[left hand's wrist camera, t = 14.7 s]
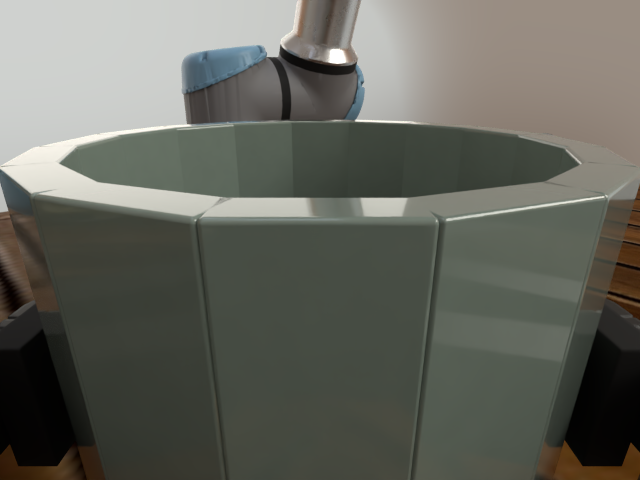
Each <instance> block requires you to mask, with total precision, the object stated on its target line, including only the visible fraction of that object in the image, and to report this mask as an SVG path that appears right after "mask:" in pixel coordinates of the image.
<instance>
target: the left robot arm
mask: <svg viewBox="0 0 640 480" xmlns="http://www.w3.org/2000/svg"><path fill="white" fill-rule="evenodd" d="M75 440H76V439H75V435H74V432H73V428H72V425H71V422H70V418H69V415H68V411H67V408H66V405H65V401H64V398H63V394H62V391H61V388H60V384H59V381H58V377H57V374H56V371H55V367H54V364H53V360H52V357H51V354H50V350H49V347H48V343H47V340H46V337H45V333H44V330H43V326H42V323H41V320H40V316H39V313H38V309H37V306H36V303H35V300H34V301H31V302H29V303H27V304H25V305H23V306H22V307H21V308H19V309H18V310H17V311H15V312H14V313H13V314H11V315H10V316H9V317H8V319H5V320H3V321H2V322H1V323H0V454H1V453H2V452H3V451H4V450H5V449H6V448H7V446H8V445H9V444H10V445H11V448H12V450H13V453H14V456H15V458H16V461H17V464H18V466H58V464H59V463H60V461H61V460H62V459H63V457H64V456H65V454H66V453H67V451H68V450H69V448H70V447H71V446H72V444H73V443H74V441H75ZM564 440H565V441H566V442H567V444H568V445H569V447H570V448H571V450H572V451H573V453H574V454H575V455H576V457H577V458H578V460H579V461H580V463H581V464H582V466H622V464H623V461H624V459H625V456H626V453H627V451H628V448H629V445H630V443H632V444H633V445H634V446H635V447H636V449H637V450H638V451H639V452H640V320H638V319H637V318H633V315H631V314H630V313H629V312H627V311H626V310H625V309H623V308H622V307H620V306H619V305H618V304H616V303H614V302H612V301H610V300H608V299H605V303H604V306H603V310H602V313H601V317H600V320H599V323H598V327H597V330H596V334H595V337H594V340H593V344H592V347H591V351H590V354H589V357H588V361H587V364H586V368H585V371H584V375H583V378H582V381H581V385H580V388H579V392H578V395H577V398H576V402H575V405H574V409H573V412H572V415H571V419H570V422H569V426H568V429H567V433H566V436H565V439H564ZM638 480H640V475H639V477H638Z"/></svg>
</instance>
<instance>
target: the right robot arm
mask: <svg viewBox="0 0 640 480" xmlns="http://www.w3.org/2000/svg"><path fill="white" fill-rule="evenodd" d="M360 3H361V0H297V6H296V13H295V20H294V27H293V30H292V31H291V32H290V33H288V34H287V35H286V36H284V37H283V38H282V39H281V45H280V52H279V57H266V56H267V52H266V51H265V48H264V47H263V46H262V45H256V46H242V47H233V48H224V49H216V50H209V51H202V52H196V53H191V54H189V55H187V56H186V57H185V58H184V60H183V62H182V93H183V94H184V102H185V110H186V119H187V124H202V123H216V122H235V121H266V120H356V118H357V116H358V115H359V113H360V110H361V107H362V104H363V100H364V91H365V89H364V87H362V84H363V83H364V78H363V74H362V71H361V70H360V68H359V66H358V65H357V60H358V56H357V54H356V52H355V50H354V48H353V46H352V43H351V41H352V37H353V32H354V28H355V24H356V20H357V15H358V11H359V7H360Z"/></svg>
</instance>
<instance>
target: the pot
mask: <svg viewBox="0 0 640 480" xmlns="http://www.w3.org/2000/svg"><path fill="white" fill-rule="evenodd" d="M0 183H1V187H2V190H3V194H4V197H5V200H6V204H7V207H8V211H9V214H10V217H11V221H12V224H13V228H14V231H15V234H16V238H17V241H18V245H19V248H20V251H21V255H22V258H23V262H24V265H25V268H26V272H27V275H28V279H29V282H30V286H31V289H32V292H33V296H34V299H35V303H36V306H37V309H38V313H39V316H40V320H41V323H42V326H43V330H44V333H45V337H46V340H47V343H48V347H49V350H50V354H51V357H52V360H53V364H54V367H55V371H56V374H57V377H58V381H59V384H60V388H61V391H62V394H63V398H64V401H65V405H66V408H67V411H68V415H69V418H70V422H71V425H72V428H73V432H74V435H75V439H76V442H77V445H78V449H79V452H80V456H81V459H82V462H83V466H84V469H85V473H86V476H87V479H88V480H553V477H554V473H555V470H556V467H557V463H558V460H559V456H560V453H561V450H562V446H563V443H564V439H565V436H566V433H567V429H568V426H569V422H570V419H571V415H572V412H573V409H574V405H575V402H576V398H577V395H578V392H579V388H580V385H581V381H582V378H583V375H584V371H585V368H586V364H587V361H588V357H589V354H590V351H591V347H592V344H593V340H594V337H595V334H596V330H597V327H598V323H599V320H600V317H601V313H602V310H603V306H604V303H605V299H606V296H607V293H608V289H609V286H610V282H611V279H612V276H613V272H614V269H615V265H616V262H617V259H618V255H619V252H620V248H621V245H622V241H623V238H624V235H625V231H626V228H627V224H628V221H629V218H630V214H631V211H632V207H633V204H634V201H635V197H636V194H637V190H638V187H639V183H640V167H638V166H636V165H634V164H633V163H631V162H629V161H628V160H626V159H624V158H622V157H621V156H619V155H617V154H616V153H614V152H612V151H610V150H609V149H607V148H605V147H603V146H599V145H594V144H589V143H585V142H580V141H576V140H571V139H566V138H562V137H557V136H552V135H548V134H539V133H531V132H523V131H515V130H506V129H498V128H490V127H478V126H469V125H454V124H440V123H425V122H408V121H377V120H266V121H235V122H216V123H202V124H187V125H173V126H163V127H160V126H159V127H151V128H142V129H134V130H126V131H117V132H109V133H101V134H95V135H90V136H86V137H81V138H76V139H72V140H67V141H62V142H58V143H53V144H48V145H44V146H40V147H34V148H32V149H30V150H29V151H27V152H25V153H23V154H21V155H20V156H18V157H16V158H14V159H12V160H11V161H9V162H7V163H5V164H3V165H2V166H0Z"/></svg>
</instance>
